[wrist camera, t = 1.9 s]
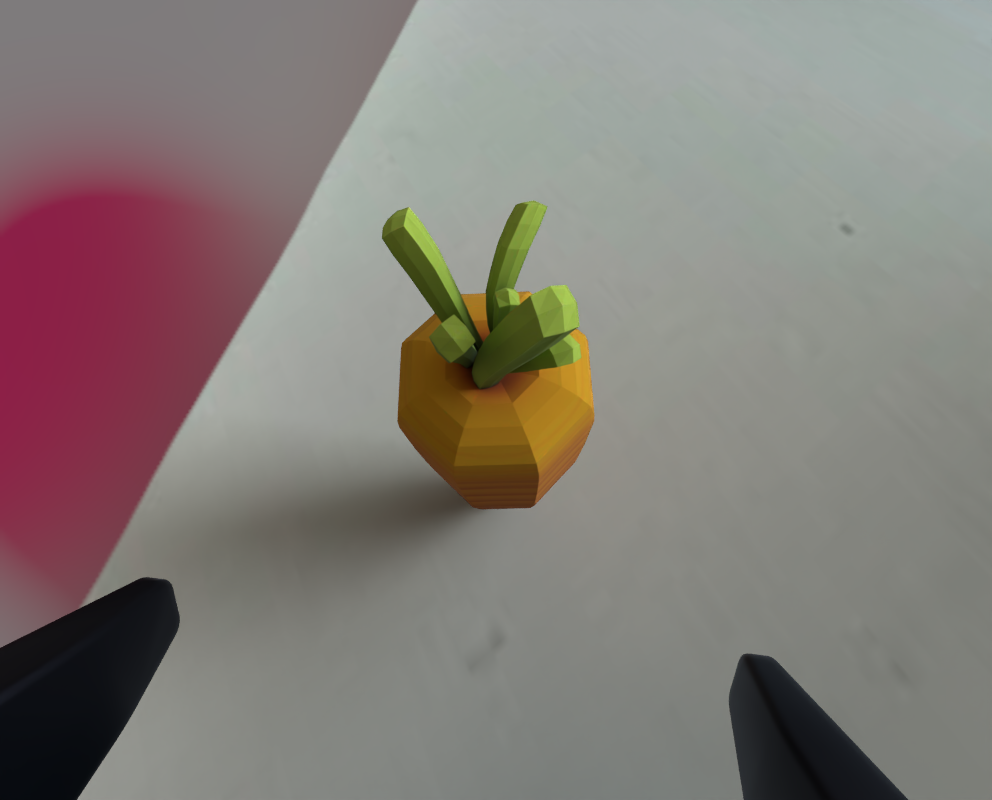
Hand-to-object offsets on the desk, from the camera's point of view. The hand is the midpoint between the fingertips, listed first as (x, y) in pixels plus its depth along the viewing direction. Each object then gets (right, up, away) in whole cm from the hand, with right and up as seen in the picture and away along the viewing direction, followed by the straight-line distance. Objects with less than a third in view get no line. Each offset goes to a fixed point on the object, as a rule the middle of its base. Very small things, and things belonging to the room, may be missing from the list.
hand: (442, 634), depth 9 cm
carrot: (+1, 0, +14) cm, 14 cm away
